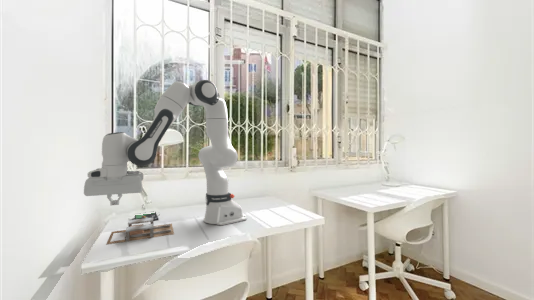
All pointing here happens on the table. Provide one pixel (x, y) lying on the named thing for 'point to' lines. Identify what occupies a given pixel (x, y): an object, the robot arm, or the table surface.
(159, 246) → the table surface
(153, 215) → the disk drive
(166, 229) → the brown wooden flat frame
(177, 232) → the table surface
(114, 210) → the table surface
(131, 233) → the block
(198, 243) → the table surface
